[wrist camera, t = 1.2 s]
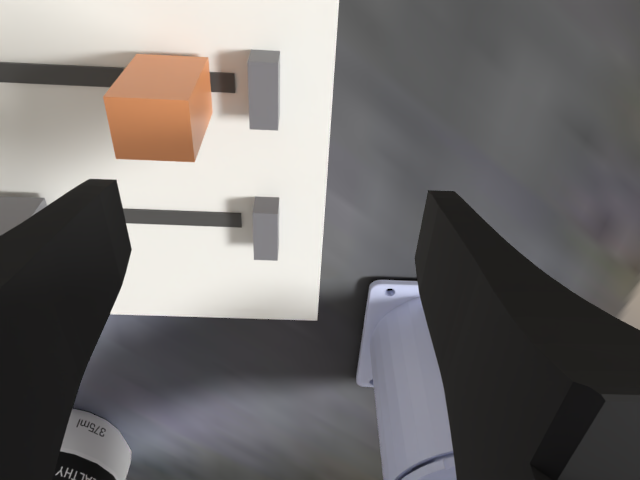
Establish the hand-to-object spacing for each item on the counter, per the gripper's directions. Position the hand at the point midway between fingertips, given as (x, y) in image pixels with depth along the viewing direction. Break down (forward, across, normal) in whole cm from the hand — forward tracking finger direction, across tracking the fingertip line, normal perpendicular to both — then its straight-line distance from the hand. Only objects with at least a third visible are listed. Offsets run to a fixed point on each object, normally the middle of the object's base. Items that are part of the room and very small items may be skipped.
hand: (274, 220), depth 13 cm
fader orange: (+8, +4, 0) cm, 9 cm away
